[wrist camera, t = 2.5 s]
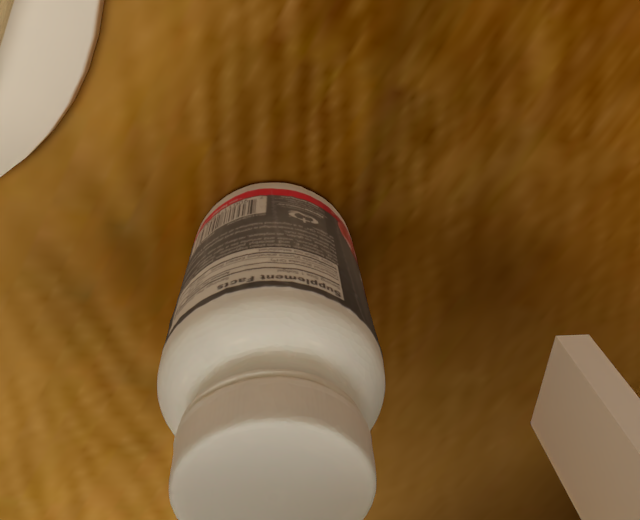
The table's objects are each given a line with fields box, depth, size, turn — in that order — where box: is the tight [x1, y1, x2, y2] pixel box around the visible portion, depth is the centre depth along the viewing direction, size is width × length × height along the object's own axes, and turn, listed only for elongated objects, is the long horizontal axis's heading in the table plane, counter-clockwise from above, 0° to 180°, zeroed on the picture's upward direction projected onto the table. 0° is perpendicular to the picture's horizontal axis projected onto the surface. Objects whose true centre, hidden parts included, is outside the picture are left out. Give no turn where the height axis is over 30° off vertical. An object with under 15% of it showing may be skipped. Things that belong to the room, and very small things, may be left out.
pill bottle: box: [157, 182, 385, 520], centre depth 15 cm, size 5×5×10 cm
